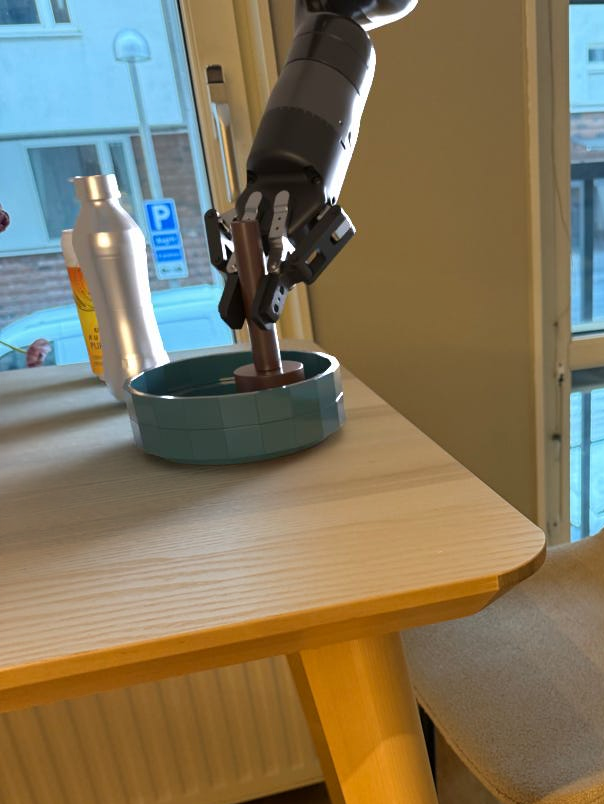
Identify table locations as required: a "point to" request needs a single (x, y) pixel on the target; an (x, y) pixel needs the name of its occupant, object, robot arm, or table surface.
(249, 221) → the brown rod on disc
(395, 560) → the table surface
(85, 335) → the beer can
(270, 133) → the robot arm
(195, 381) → the bowl
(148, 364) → the silver bottle
